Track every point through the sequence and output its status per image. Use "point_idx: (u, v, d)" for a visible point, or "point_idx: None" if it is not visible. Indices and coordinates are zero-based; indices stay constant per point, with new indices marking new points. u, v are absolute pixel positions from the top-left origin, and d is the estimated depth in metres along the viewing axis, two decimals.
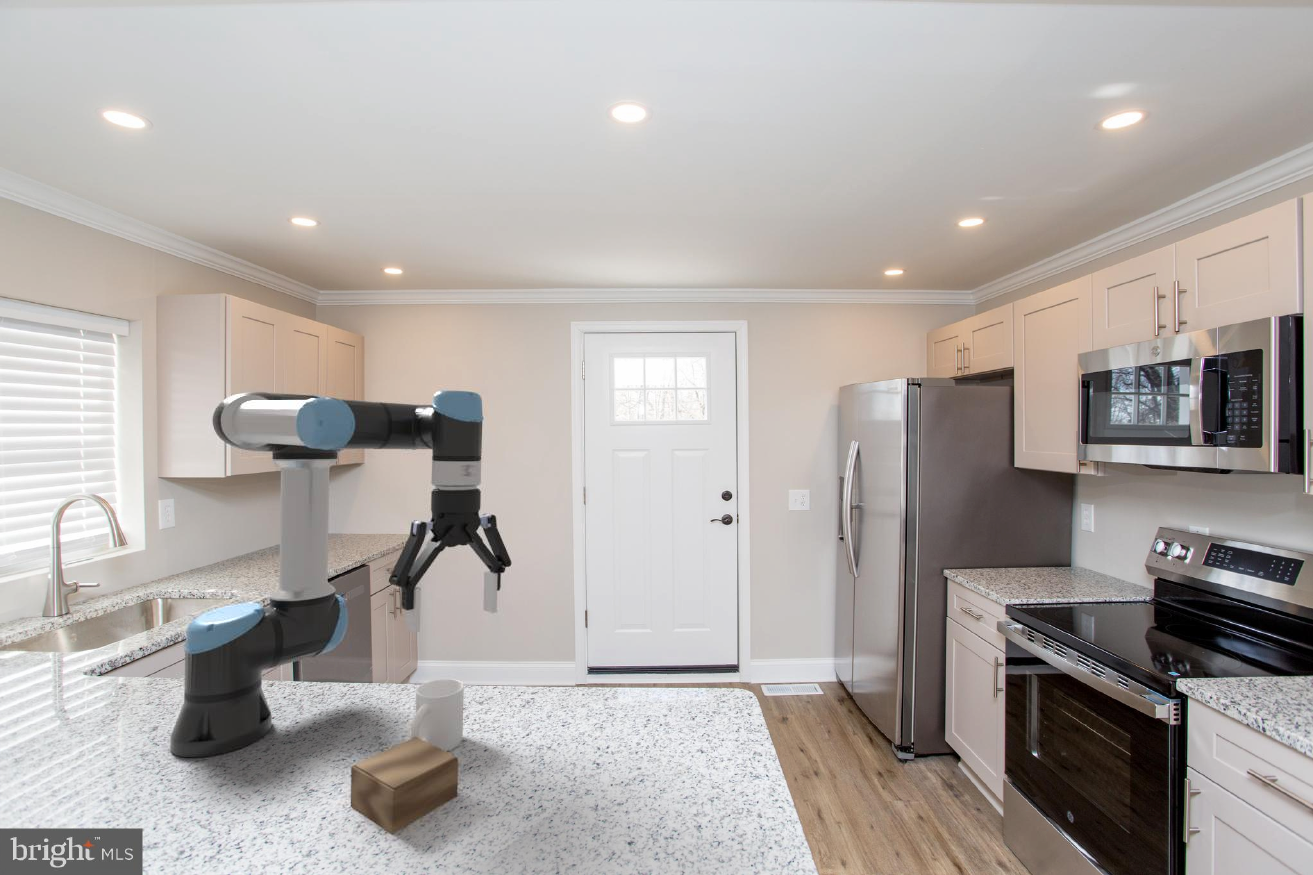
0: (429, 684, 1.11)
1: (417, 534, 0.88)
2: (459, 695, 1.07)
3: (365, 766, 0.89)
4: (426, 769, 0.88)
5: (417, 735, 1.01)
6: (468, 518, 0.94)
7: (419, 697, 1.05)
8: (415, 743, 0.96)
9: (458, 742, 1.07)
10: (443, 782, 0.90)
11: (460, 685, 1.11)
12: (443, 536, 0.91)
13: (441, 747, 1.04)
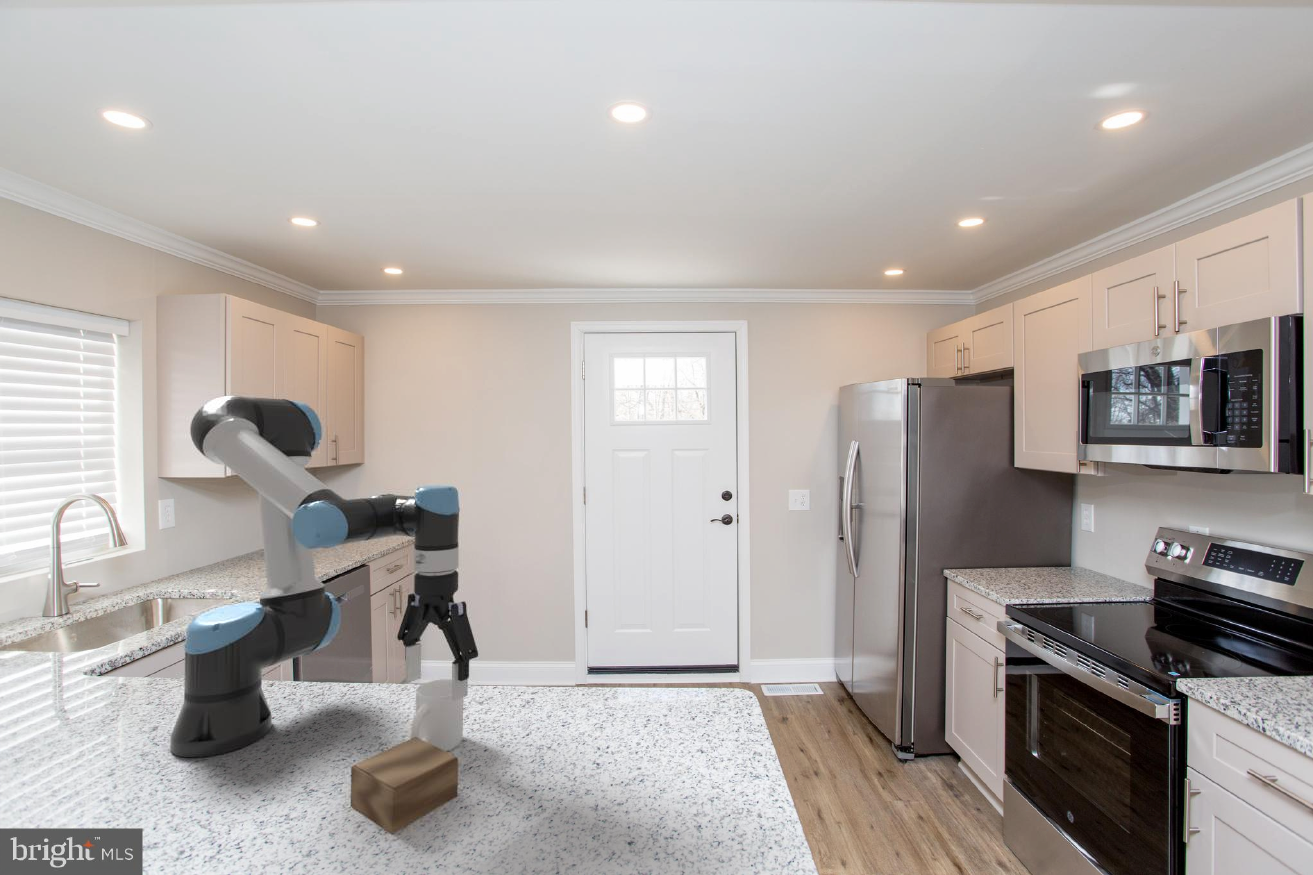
0: (429, 684, 1.11)
1: None
2: None
3: (365, 766, 0.89)
4: (426, 769, 0.88)
5: (417, 735, 1.01)
6: (436, 601, 1.05)
7: (419, 697, 1.05)
8: (415, 743, 0.96)
9: (458, 742, 1.07)
10: (443, 782, 0.90)
11: None
12: None
13: (441, 747, 1.04)
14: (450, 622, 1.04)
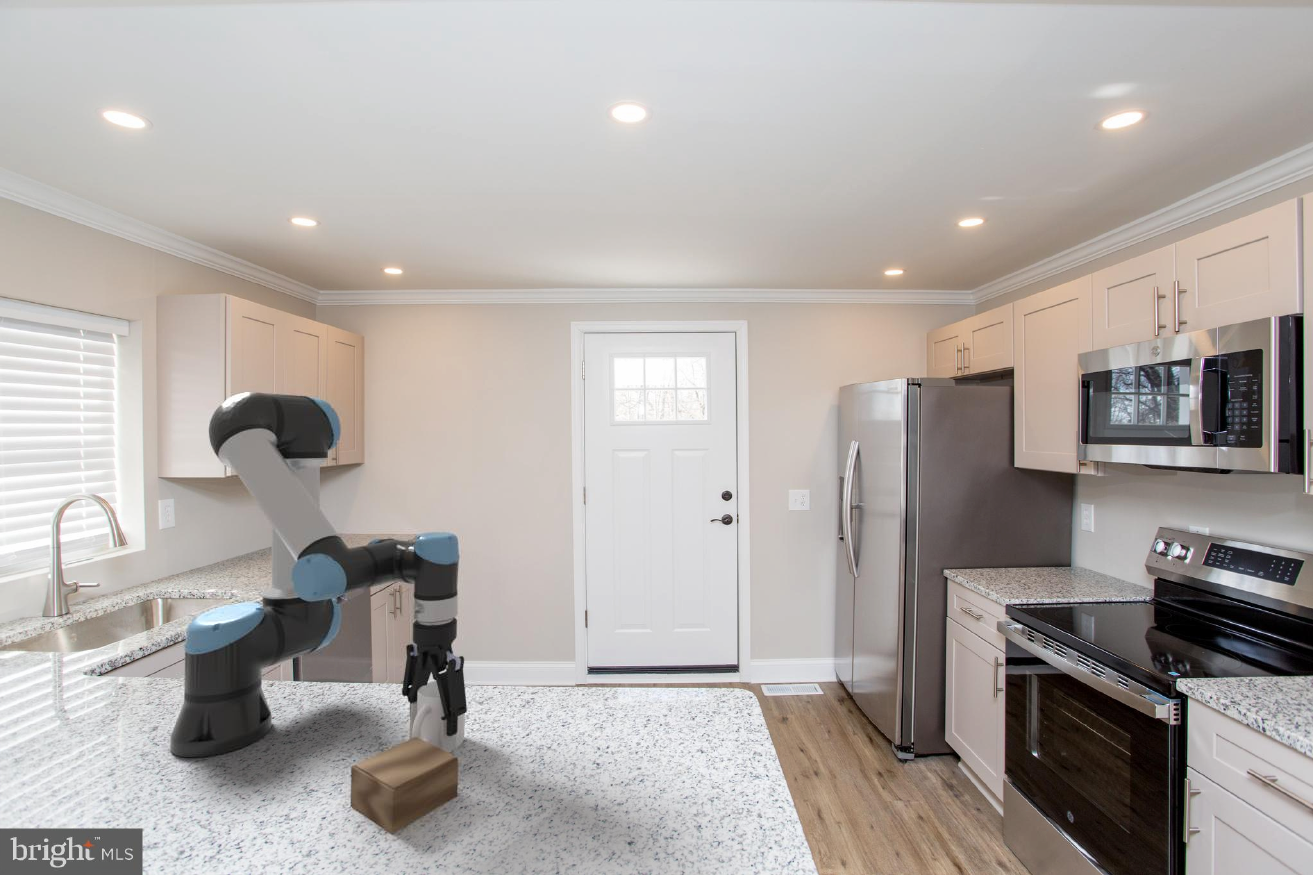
0: (431, 684, 1.10)
1: None
2: None
3: (365, 766, 0.89)
4: (426, 769, 0.88)
5: (418, 736, 1.01)
6: (435, 648, 1.04)
7: (420, 697, 1.05)
8: (415, 743, 0.96)
9: (460, 743, 1.07)
10: (443, 782, 0.90)
11: None
12: None
13: None
14: (445, 674, 1.05)
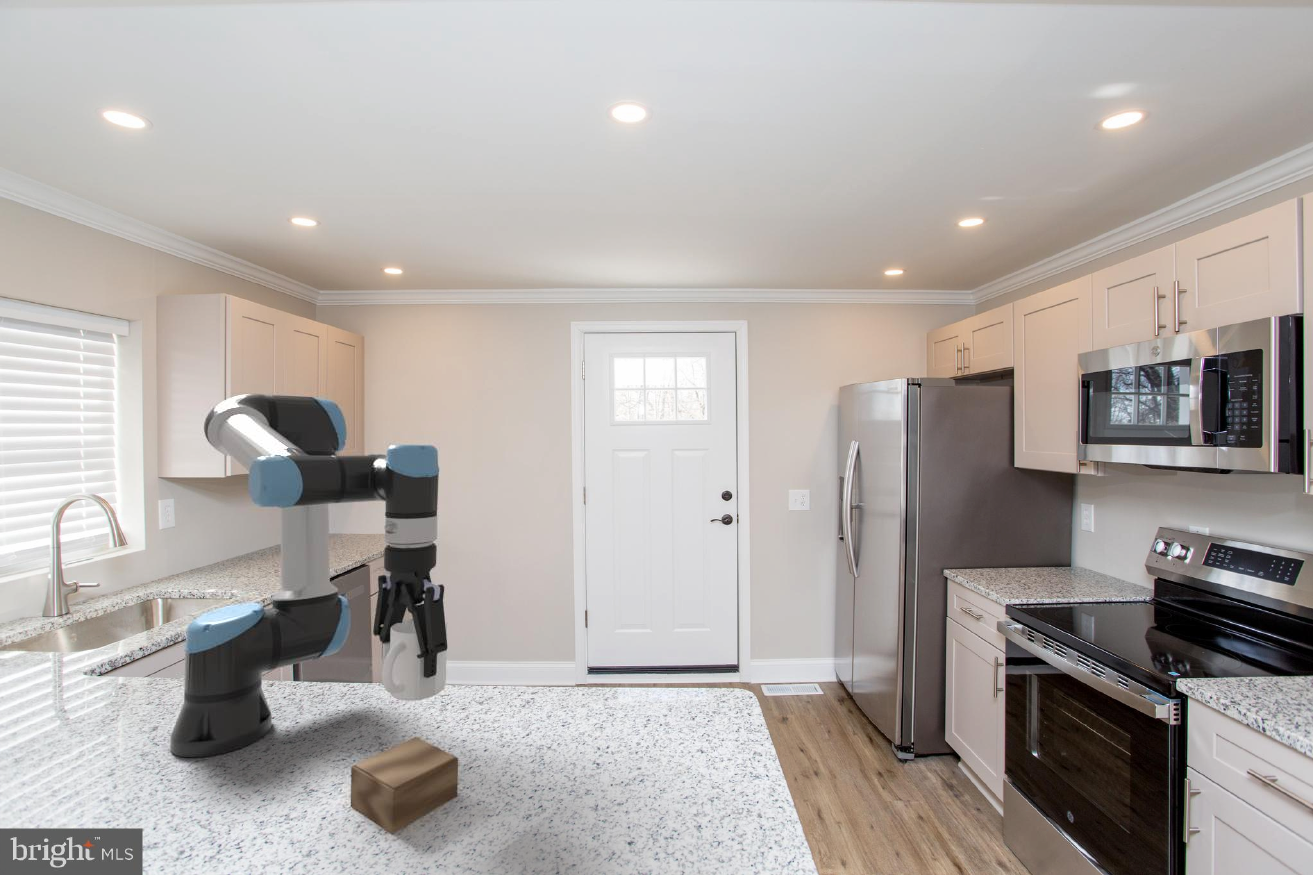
0: (407, 623, 0.95)
1: None
2: None
3: (365, 766, 0.89)
4: (426, 769, 0.88)
5: (390, 676, 0.85)
6: (411, 576, 0.89)
7: (393, 634, 0.89)
8: (415, 743, 0.96)
9: (440, 688, 0.91)
10: (443, 782, 0.90)
11: None
12: None
13: None
14: (423, 606, 0.89)
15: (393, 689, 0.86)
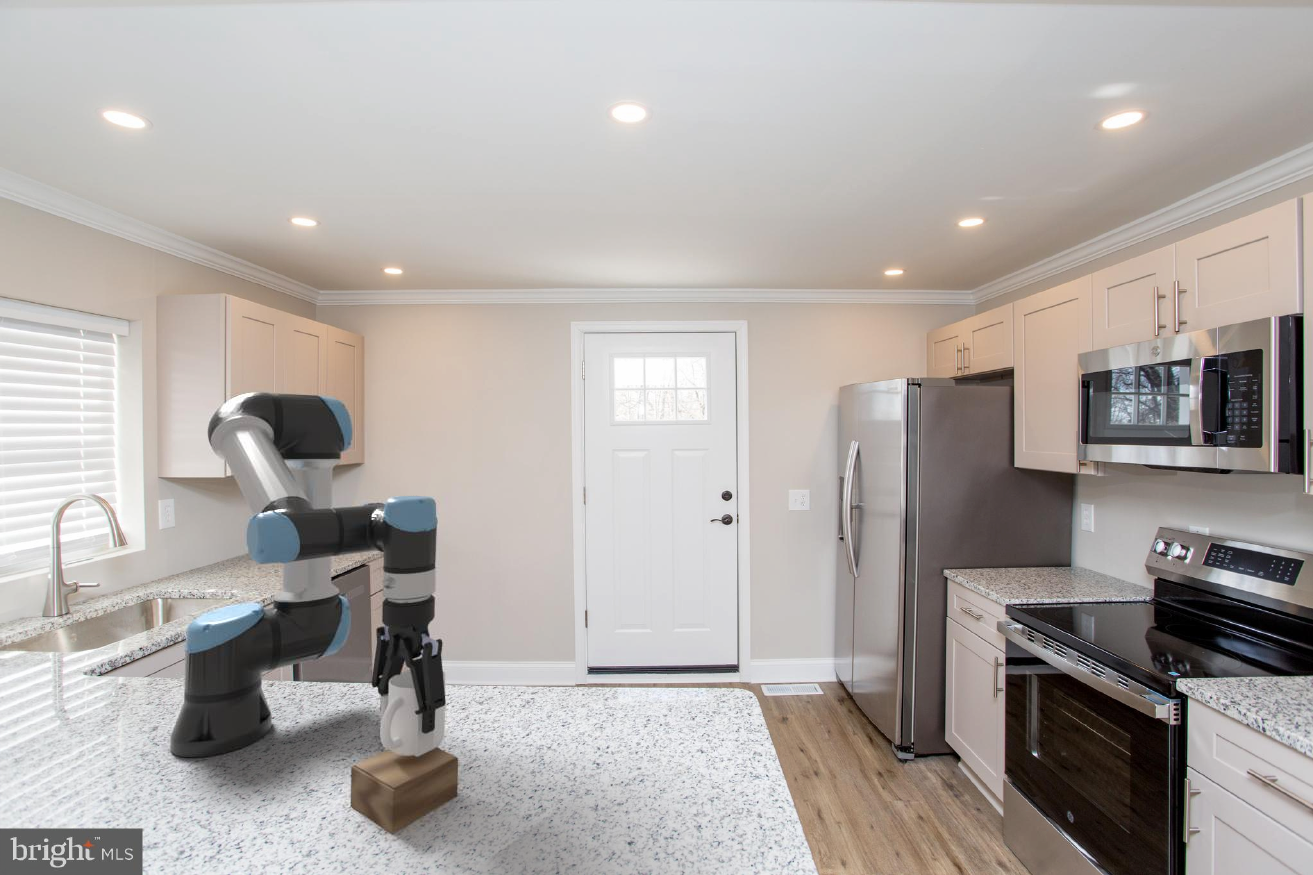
0: (405, 674, 0.95)
1: None
2: None
3: (365, 766, 0.89)
4: (426, 769, 0.88)
5: (388, 733, 0.85)
6: (409, 630, 0.89)
7: (391, 688, 0.89)
8: None
9: (438, 741, 0.91)
10: (443, 782, 0.90)
11: None
12: None
13: None
14: (421, 660, 0.89)
15: (391, 745, 0.86)
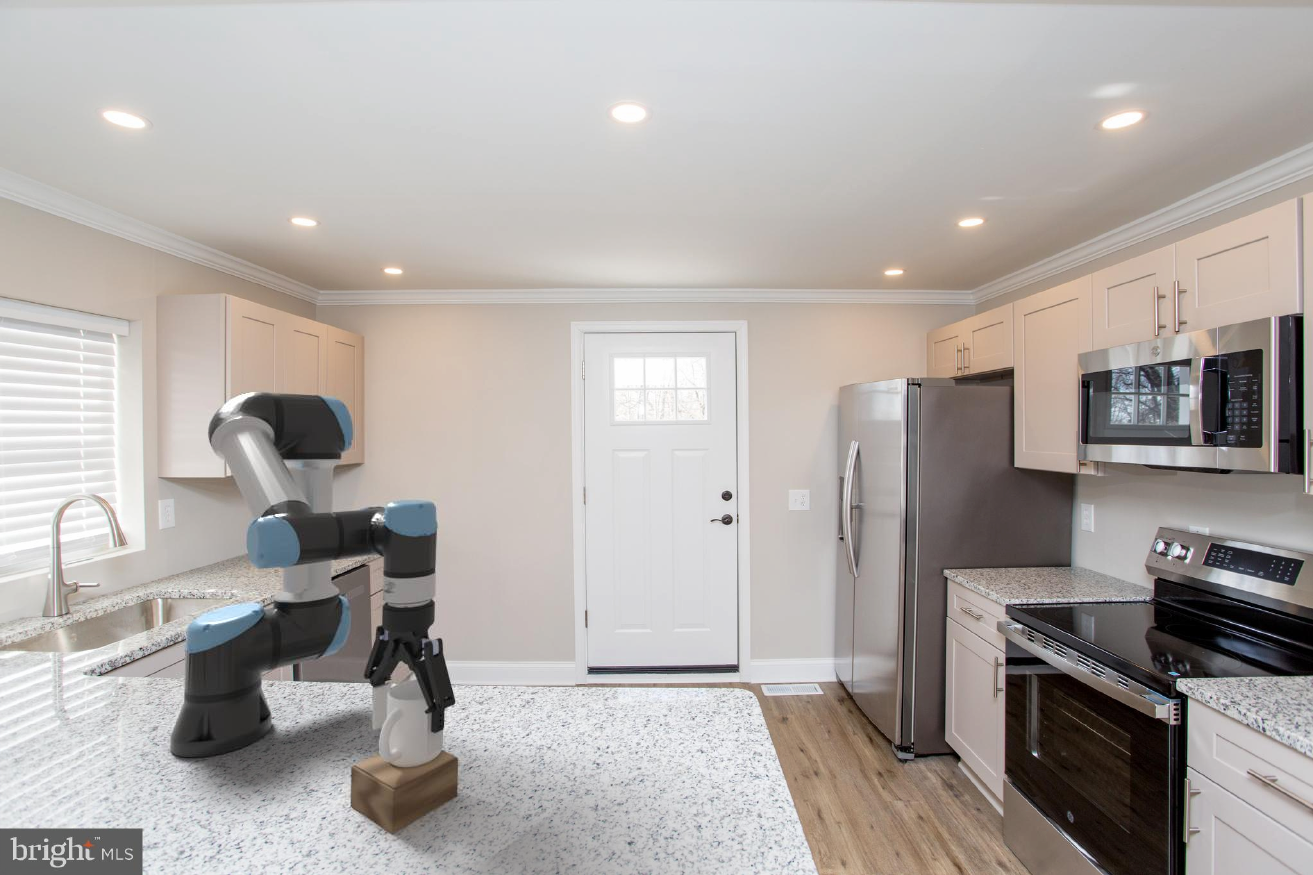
0: (404, 685, 0.95)
1: None
2: None
3: (365, 766, 0.89)
4: (426, 769, 0.88)
5: (387, 745, 0.85)
6: (408, 636, 0.89)
7: (390, 700, 0.89)
8: None
9: (437, 753, 0.91)
10: (443, 782, 0.90)
11: None
12: None
13: (416, 759, 0.89)
14: (424, 662, 0.89)
15: (390, 758, 0.86)
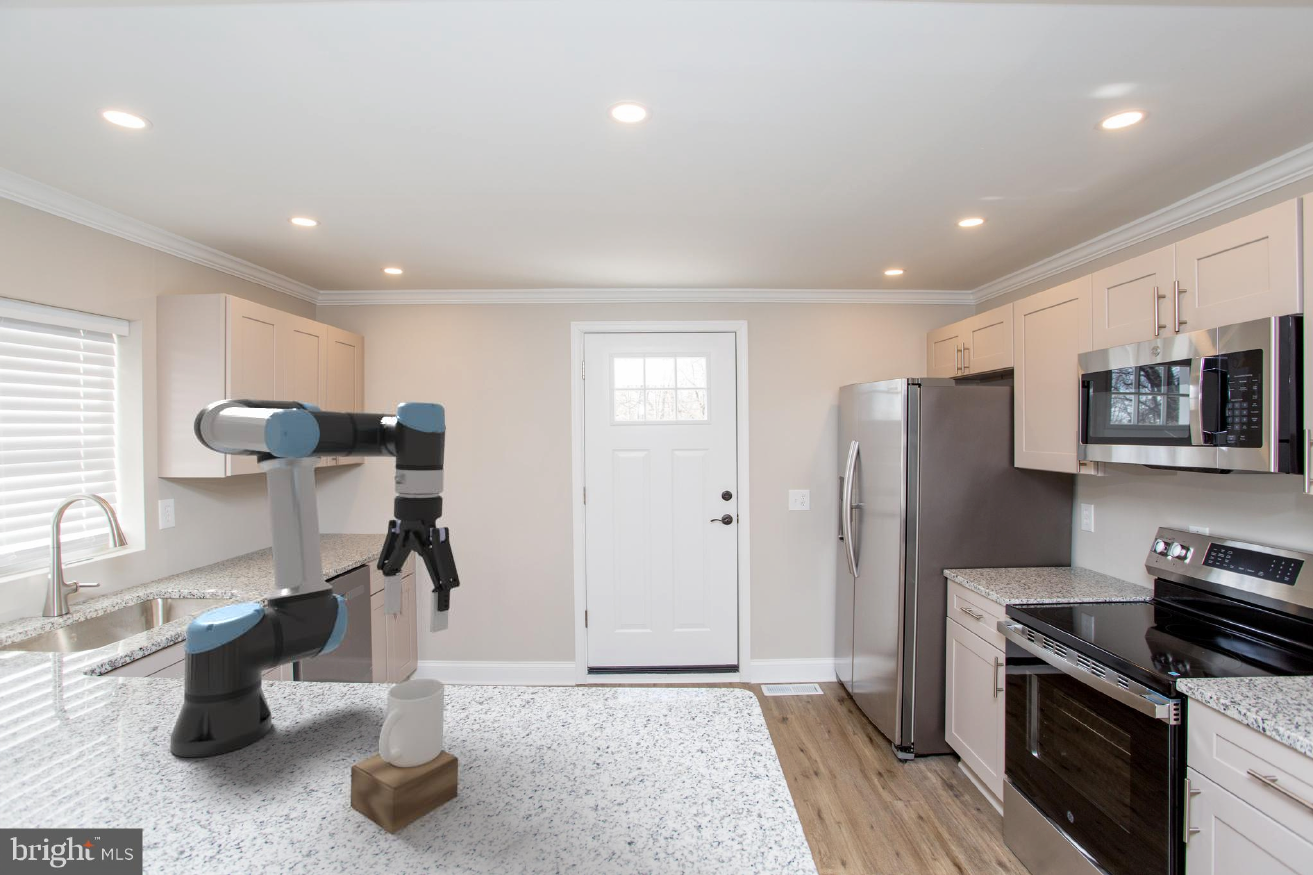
0: (404, 685, 0.95)
1: None
2: (438, 698, 0.91)
3: (365, 766, 0.89)
4: (426, 769, 0.88)
5: (387, 745, 0.85)
6: (417, 526, 0.96)
7: (390, 700, 0.89)
8: None
9: (437, 753, 0.91)
10: (443, 782, 0.90)
11: (440, 686, 0.95)
12: None
13: (416, 759, 0.89)
14: (431, 549, 0.96)
15: (390, 758, 0.86)
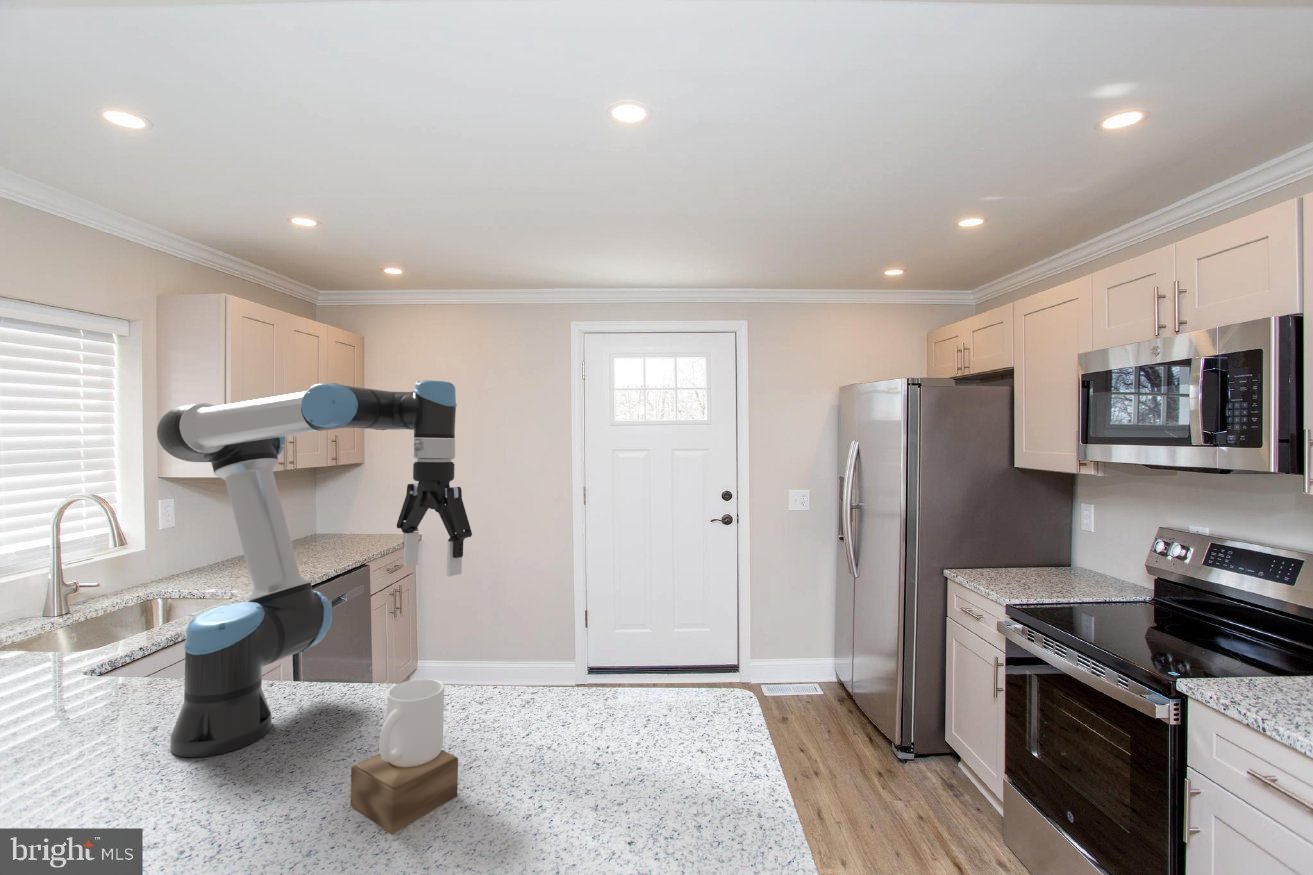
0: (404, 685, 0.95)
1: None
2: (438, 698, 0.91)
3: (365, 766, 0.89)
4: (426, 769, 0.88)
5: (387, 745, 0.85)
6: (433, 487, 1.12)
7: (390, 700, 0.89)
8: None
9: (437, 753, 0.91)
10: (443, 782, 0.90)
11: (440, 686, 0.95)
12: None
13: (416, 759, 0.89)
14: (446, 506, 1.12)
15: (390, 758, 0.86)
